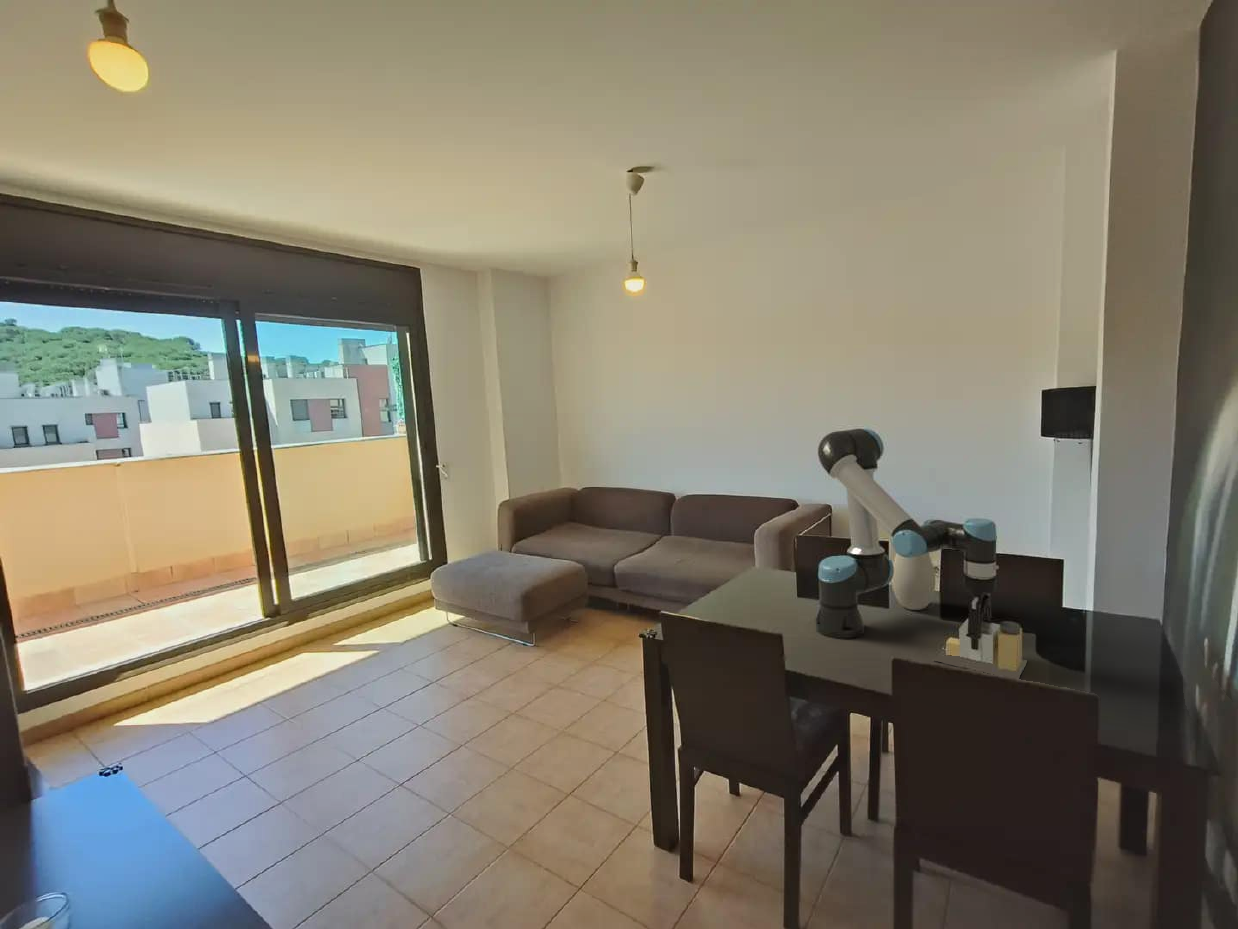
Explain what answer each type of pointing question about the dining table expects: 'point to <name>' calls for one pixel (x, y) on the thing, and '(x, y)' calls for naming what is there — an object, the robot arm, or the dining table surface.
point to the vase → (913, 580)
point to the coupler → (1000, 646)
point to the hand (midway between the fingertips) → (979, 653)
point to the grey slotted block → (988, 641)
